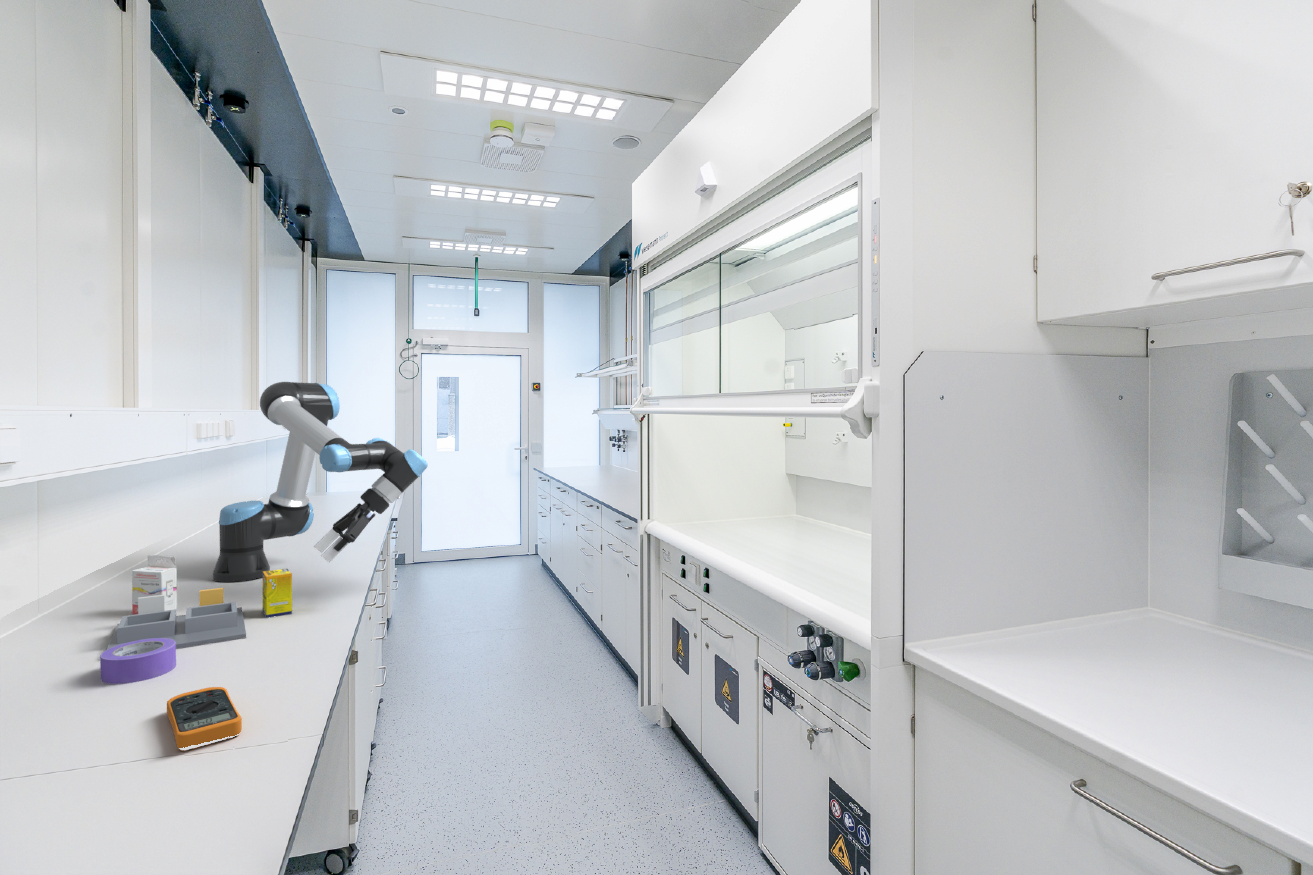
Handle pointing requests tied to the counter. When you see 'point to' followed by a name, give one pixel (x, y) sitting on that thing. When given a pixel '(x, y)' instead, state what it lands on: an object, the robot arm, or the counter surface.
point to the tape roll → (138, 660)
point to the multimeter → (203, 716)
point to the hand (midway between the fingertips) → (321, 554)
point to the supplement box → (277, 592)
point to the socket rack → (183, 622)
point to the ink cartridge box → (156, 581)
